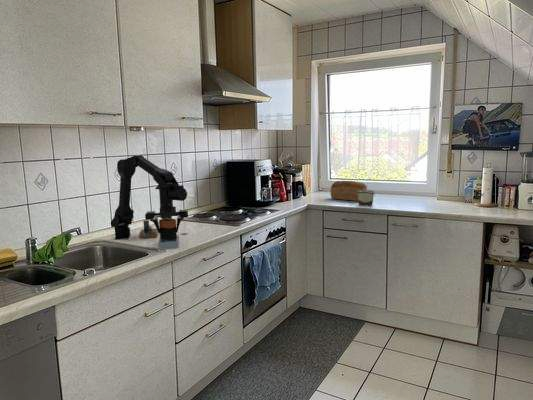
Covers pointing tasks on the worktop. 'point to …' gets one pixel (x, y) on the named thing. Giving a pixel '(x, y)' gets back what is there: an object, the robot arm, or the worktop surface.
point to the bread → (346, 190)
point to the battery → (167, 229)
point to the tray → (168, 243)
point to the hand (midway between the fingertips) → (168, 233)
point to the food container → (365, 197)
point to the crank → (146, 228)
